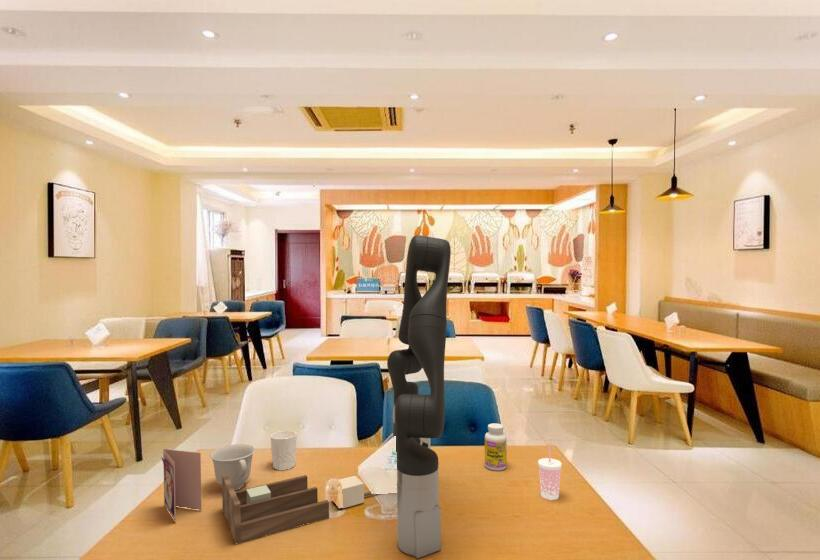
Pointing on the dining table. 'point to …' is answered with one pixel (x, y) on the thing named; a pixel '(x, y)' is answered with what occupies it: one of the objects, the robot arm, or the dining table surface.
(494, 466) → the supplement bottle
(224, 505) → the lane rack
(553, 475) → the beverage cup
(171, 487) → the greeting card
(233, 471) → the teacup
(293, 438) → the white cup
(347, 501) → the cream long block
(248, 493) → the sage block
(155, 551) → the dining table surface
